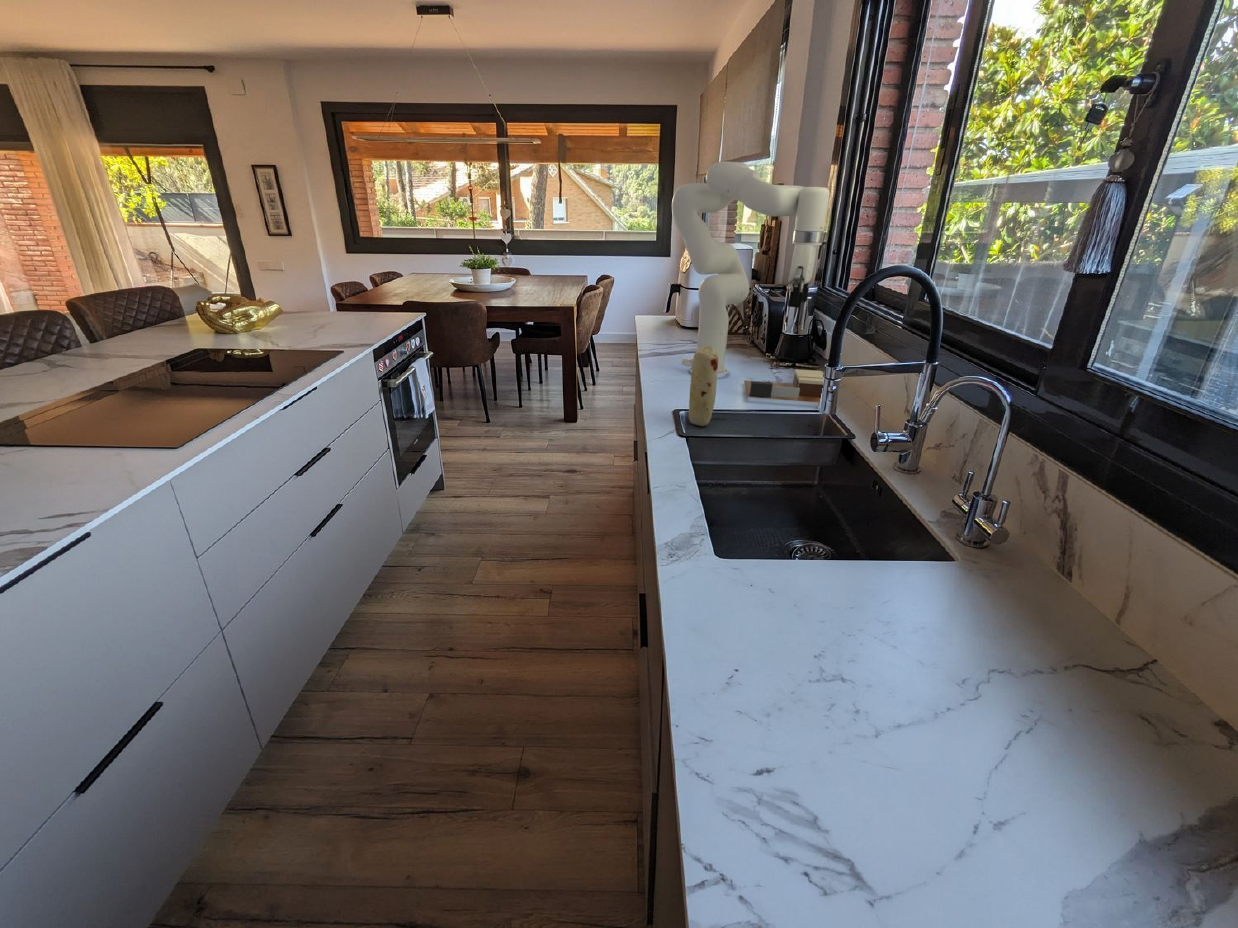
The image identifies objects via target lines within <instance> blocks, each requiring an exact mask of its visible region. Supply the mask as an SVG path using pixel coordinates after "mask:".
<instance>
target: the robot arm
mask: <svg viewBox="0 0 1238 928" xmlns="http://www.w3.org/2000/svg"><path fill="white" fill-rule="evenodd" d="M705 180H706V182H689V183H685V184H682V185H680V186H679V187H678V188H677V189H676V190H675V192H674V194H673V197H672V201H671V214H672V218H673V221H674V224H675V226H676V228H677V229H678V232H679V234H680V236H681V237H682V241H683V242H684V246H685V250H686V251H687V255H688V257H689V260H690V262H691V265H692V267H693V270H694V271H695V272H696V273H697V274H699V275H706V276H707V275H710V276H707V277H705V278H704V279H702V281H700V284H699V287H698V292H697V293H698V294H697V295H698V303H699V304H698V307H699V314H698V315H699V316H698V317H699V318H698V329H697V341H696V350H695V352H697V353H698V352H699V350H700V349H701V348H704V347H712V348H714V349H715V350H716V351H717V353H718V371H717V374H726V375H728V374H729V369H727V368H726V367H725V361H726V352H727V343H728V341H727V340H728V333H729V323H730V318H729V313H728V311H727V306H729V305H730V306H731V305H736V304H741V303H742V302H744V301H745V300H746V299H747V298H748V296H749V294H750V282H749V279H748V276H747V274H746V271H745V268H744V264H743V263H742V260H741V258H740V255H739V252H738V250H737V249H736V248H735V246H734V245H732V244H731V243H729V242H725V241H724V242H723V241H720V242H719V241H717V242H716V241H714V239H713V237H712V235H711V232H710V229H709V226H708V225H707V224H706V222H705V221H704V220H703V218H701V216H699V214H709V213H710V214H712V213H714V214H715V213H718V212H720V211H721V210H723V209H725V208H726V207H727V206H728V205H730V204H732V203H733V202H734V201H738V202H740V203H742V205H744V207H746V208H747V209H749V210H751V211H754V212H756V213H759V214H762V215H764V216H767V217H795V223H794V230H793V236H792V242H791V243H792V244H793V245H794V249H793V253H792V257H791V264H790V269H789V273H788V274H789V275H788V283H789V284H792V285H791V289H790V293H789V294H790V295H789V300H788V307H789V308H798V309H799V308H801V307H802V303H807V301H808V296H809V291H810V282H811V280H812V278H813V274H814V268H815V263H816V255H817V248H818V246H822V244H823V238H824V233H825V232H824V231H825V227H826V226H825V225H826V219H827V213H828V208H829V201H830V194H831V193H830V190H829V188H828V187H825V186H802V185H790V184H774V183H770V182H766V181H764V180H762V176H761V175H760V172H758V171H757V170H754V169H751V168H750V166H749V165H747V164H746V163H744V162H740V161H729V160H727V161H726V160H723V161H717V162H715V163H713V164H712V165H711V166H710V167H708V169H707V171H706V175H705ZM692 364H693V358H691V359H688V358H682V359H681V365H683V366H684V367H690V369H689V370H690V371H689V373H690V374H692Z"/></svg>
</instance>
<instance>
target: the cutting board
mask: <svg viewBox="0 0 1238 928" xmlns="http://www.w3.org/2000/svg"><path fill="white" fill-rule="evenodd" d="M751 381H752V380H743V385H744V389H745V395H746V398H753V399H754V398H755V399H764V400H765V399H766V400H781V401H795V402H807V403H820V397H806V396H799V397H798V399H796V398H782V397H771V398H770V397H756V396H750V386H751ZM757 381H758V382H761V380H760V381H759V380H757ZM771 382H772V381H771ZM772 384H773V385H772V386H779V387H793V388H794V386H793V383H789V382H788V383H787V382H772Z"/></svg>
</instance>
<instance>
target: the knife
mask: <svg viewBox="0 0 1238 928" xmlns="http://www.w3.org/2000/svg"><path fill="white" fill-rule="evenodd" d="M750 381H751V386H750V396H756V397H770V398H771V397H782V398H796V399H798V397H799V392H800V388H793V387H779V386H772V385H773V384H772V381H760V382H758V381H759V380H750Z"/></svg>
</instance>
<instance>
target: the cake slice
mask: <svg viewBox="0 0 1238 928" xmlns="http://www.w3.org/2000/svg"><path fill="white" fill-rule="evenodd" d="M797 388H800V392H799V396H806V397H820V398H821V393H822V388H823V379H817V378H803V377H799V380H798V385H797Z"/></svg>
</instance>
